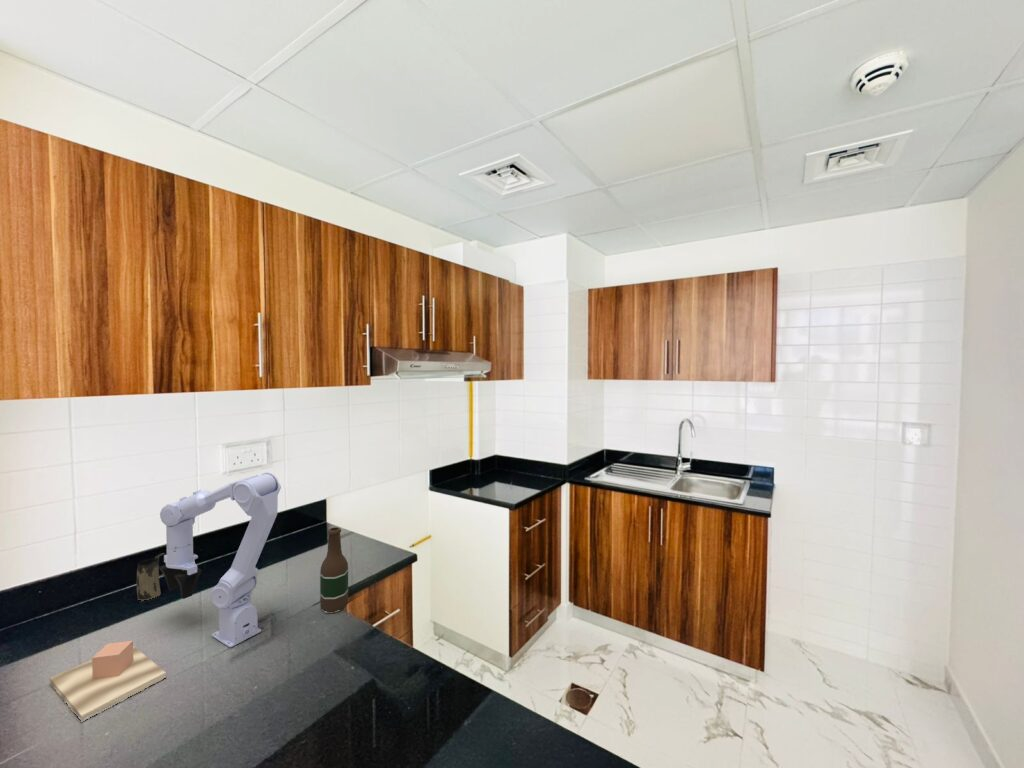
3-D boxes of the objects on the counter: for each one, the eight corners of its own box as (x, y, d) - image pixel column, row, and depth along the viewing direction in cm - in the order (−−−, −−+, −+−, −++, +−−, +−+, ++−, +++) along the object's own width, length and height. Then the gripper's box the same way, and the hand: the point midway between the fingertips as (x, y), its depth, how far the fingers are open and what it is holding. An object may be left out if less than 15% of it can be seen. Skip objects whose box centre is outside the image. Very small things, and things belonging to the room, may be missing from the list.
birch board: (165, 678, 97) (165, 672, 97) (81, 722, 84) (81, 715, 84) (130, 648, 106) (129, 643, 106) (50, 684, 94) (49, 677, 94)
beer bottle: (320, 616, 121) (319, 535, 120) (320, 602, 128) (320, 526, 128) (348, 611, 124) (348, 531, 124) (347, 597, 132) (347, 522, 131)
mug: (143, 603, 127) (142, 564, 126) (132, 599, 129) (132, 560, 128) (172, 590, 134) (172, 553, 134) (162, 586, 136) (161, 550, 136)
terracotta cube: (133, 661, 100) (132, 640, 100) (118, 676, 95) (118, 654, 95) (108, 664, 99) (108, 643, 99) (92, 679, 94) (92, 657, 94)
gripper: (209, 545, 115) (210, 593, 116) (184, 534, 122) (185, 579, 123) (179, 554, 109) (179, 605, 109) (154, 542, 116) (155, 590, 117)
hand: (180, 592), depth 116 cm, fingers open, 7 cm apart
